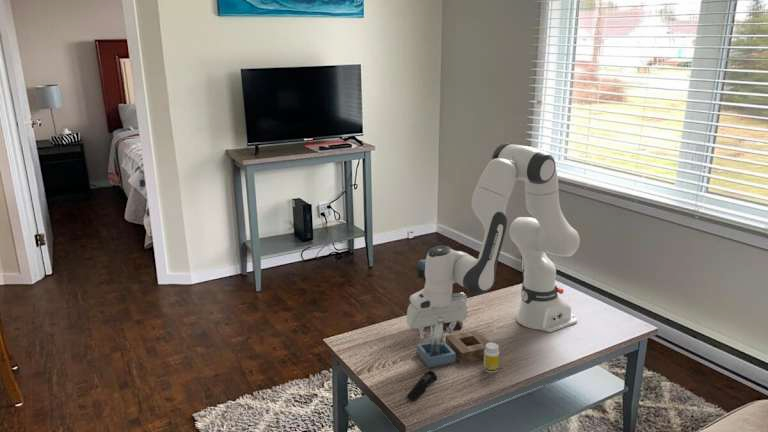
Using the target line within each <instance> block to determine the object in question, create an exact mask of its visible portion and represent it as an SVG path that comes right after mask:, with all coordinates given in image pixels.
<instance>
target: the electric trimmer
mask: <svg viewBox="0 0 768 432" xmlns="http://www.w3.org/2000/svg"><path fill="white" fill-rule="evenodd" d="M437 378H438V376H437V374H436V373H435V372H434V371H431V370H427V371H426V372H425V373H423V375H422V377H420V379H419V380H418V381H417V383H416V384H415V386H414V387H412V389H411V390H410V392H409V393H408V394H407V396H406V399H408V400H411V401H416V400H417V399H418V398H420V397H421V396H422V395H423V394H424V393H425V392H426V391H427V390H426V388H427V387H428V386H429V385H430V384H431V383H432V382H433V381H434V380H435V381H436V380H437Z"/></svg>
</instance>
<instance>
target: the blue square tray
mask: <svg viewBox="0 0 768 432" xmlns="http://www.w3.org/2000/svg"><path fill="white" fill-rule="evenodd" d="M416 355H417V356H418V357H419V359H420V360H421V361H422V362H423V363H424V365H425V366H426V368H427V369H433V368H438V367H442V366H446V365H447V366H448V365H452V364H456V357H455V356H456V353H455V352H454V351H453V350H452V349H451V348H450V347H449V346H448V345H447V344H446V343H445V341H444V340H443V343H442V355H437V356H432V357H430V341H429V342H421V343H418V344H416Z"/></svg>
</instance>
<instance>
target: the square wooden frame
mask: <svg viewBox="0 0 768 432" xmlns="http://www.w3.org/2000/svg"><path fill="white" fill-rule="evenodd" d="M444 342H445V343H446V344H447V345H448V346H449V347H450V348H451V349H452V350H453V351H454V352H455V353H456V356H455V359H456V360H457V361H459V363H460V364H461V365H464V364H468V363H472V362H477V361H482V360H483V361H484V350H485V349H486V344H487V343H491V342H490V341H489V340H488V339H487V338H486V337H485V336H484V335H483V334H482V333H481V332H480V331H478V329H473V330H469V331H464V332H458V333H451V334H446V335H445V341H444Z"/></svg>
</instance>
